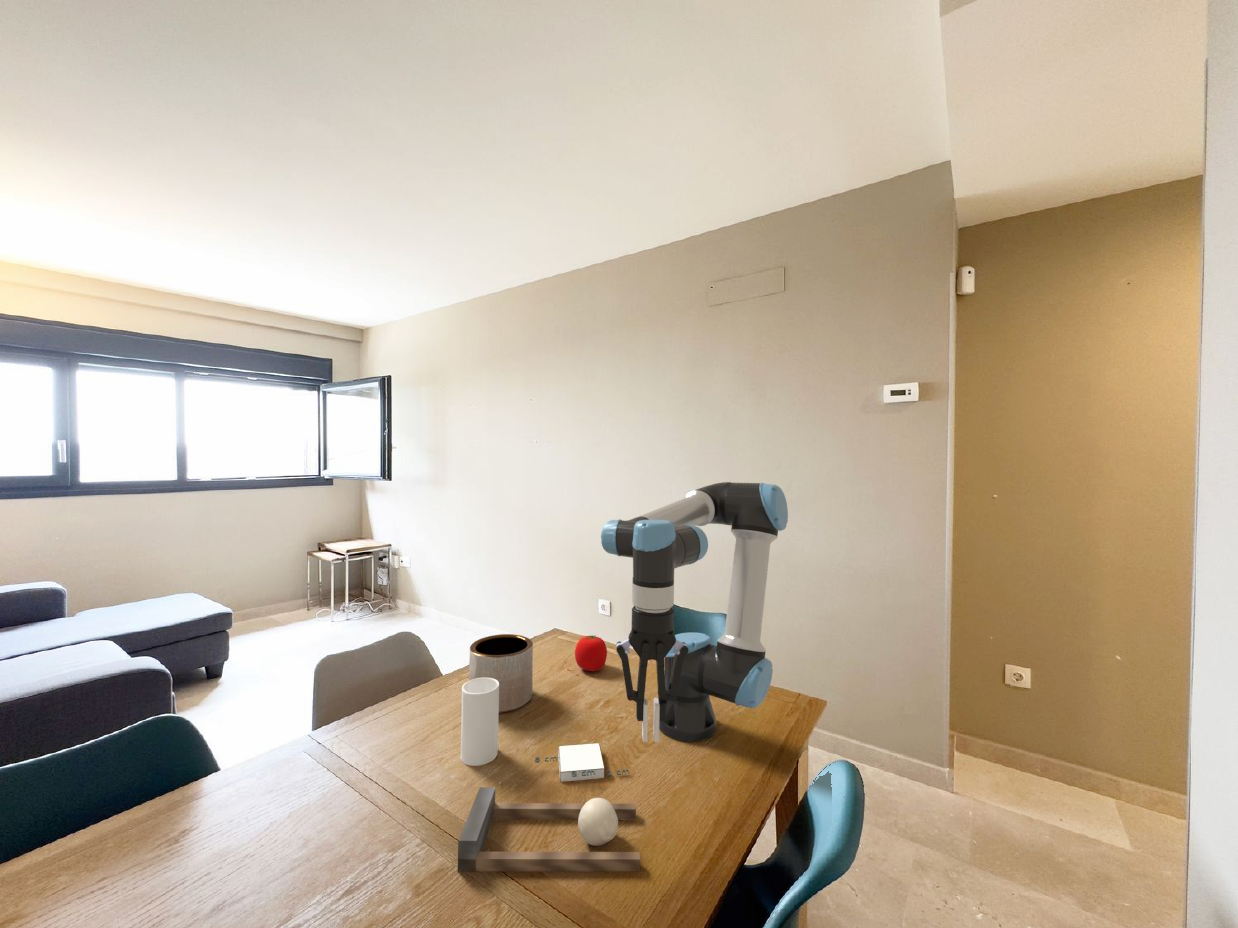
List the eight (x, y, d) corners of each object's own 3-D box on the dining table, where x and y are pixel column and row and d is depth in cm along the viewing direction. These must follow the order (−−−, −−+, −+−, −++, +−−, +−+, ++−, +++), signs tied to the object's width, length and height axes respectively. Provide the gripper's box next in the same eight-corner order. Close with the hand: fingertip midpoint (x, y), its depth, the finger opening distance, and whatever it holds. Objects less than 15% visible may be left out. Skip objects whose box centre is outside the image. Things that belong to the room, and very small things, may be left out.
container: (621, 751, 113) (621, 739, 113) (630, 782, 101) (631, 770, 101) (535, 758, 109) (535, 746, 109) (534, 792, 98) (534, 779, 98)
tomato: (594, 678, 150) (595, 644, 150) (568, 670, 156) (569, 637, 156) (613, 667, 159) (613, 634, 159) (587, 659, 164) (588, 628, 164)
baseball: (599, 863, 80) (599, 823, 80) (570, 840, 85) (571, 802, 85) (626, 840, 85) (626, 803, 85) (597, 819, 90) (597, 784, 90)
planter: (545, 695, 138) (546, 641, 138) (499, 722, 123) (500, 662, 123) (501, 679, 148) (502, 629, 148) (454, 703, 133) (455, 647, 133)
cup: (487, 768, 105) (488, 695, 105) (453, 762, 106) (454, 691, 106) (503, 746, 113) (505, 679, 113) (471, 742, 114) (473, 675, 114)
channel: (635, 813, 92) (635, 787, 92) (639, 871, 79) (640, 840, 79) (479, 813, 91) (479, 787, 91) (457, 870, 78) (458, 840, 78)
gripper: (689, 601, 89) (686, 726, 89) (612, 600, 89) (610, 725, 89) (696, 613, 82) (694, 750, 82) (612, 612, 82) (610, 749, 82)
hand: (650, 737), depth 85 cm, fingers closed
